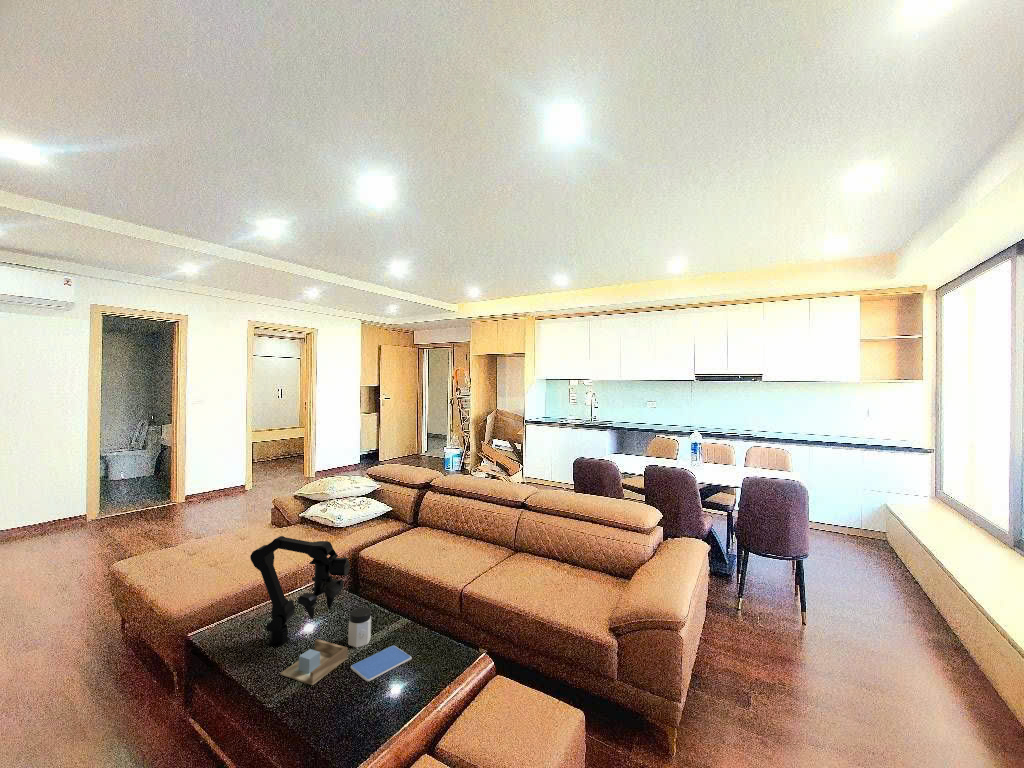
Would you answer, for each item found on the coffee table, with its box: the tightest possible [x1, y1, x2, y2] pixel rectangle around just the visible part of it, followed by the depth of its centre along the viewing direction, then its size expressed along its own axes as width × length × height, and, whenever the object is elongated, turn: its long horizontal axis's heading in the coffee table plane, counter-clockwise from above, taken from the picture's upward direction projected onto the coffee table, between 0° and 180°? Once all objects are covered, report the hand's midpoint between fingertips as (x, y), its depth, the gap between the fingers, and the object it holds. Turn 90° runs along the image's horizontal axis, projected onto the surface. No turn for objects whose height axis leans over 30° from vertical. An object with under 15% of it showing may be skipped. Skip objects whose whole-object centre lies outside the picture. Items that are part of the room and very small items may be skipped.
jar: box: [347, 607, 372, 648], centre depth 179 cm, size 9×8×12 cm
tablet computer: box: [350, 644, 413, 682], centre depth 165 cm, size 19×13×1 cm, turn 140°
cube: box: [298, 648, 320, 673], centre depth 160 cm, size 5×5×5 cm
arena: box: [280, 638, 349, 686], centre depth 163 cm, size 15×17×4 cm
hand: (320, 613), depth 178 cm, fingers open, 9 cm apart
